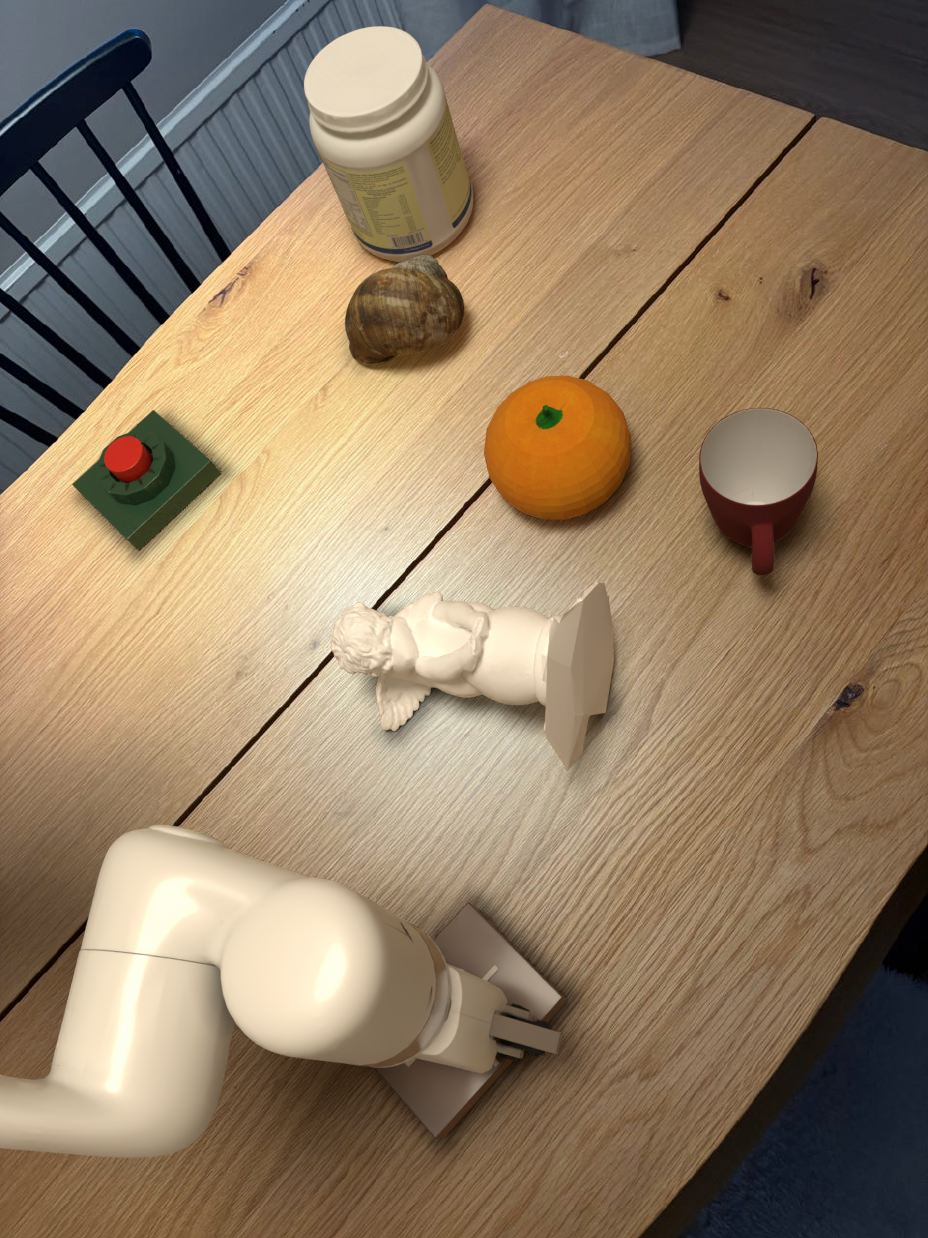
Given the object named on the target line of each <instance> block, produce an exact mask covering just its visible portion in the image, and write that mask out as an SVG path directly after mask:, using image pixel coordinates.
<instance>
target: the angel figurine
mask: <svg viewBox="0 0 928 1238" xmlns="http://www.w3.org/2000/svg"><path fill="white" fill-rule="evenodd" d="M613 624H614V623H613V617H612V611H611V605H610V596H609V595H608V591H607V588H606V583H604V582H598V581H595V582H594V584H592V585H590V586H589V587H588V588H587V589H585V590H584V592H583V595H582V596H580V597H577V598H576V601H575V602H574V603H572V605H571V606H570V607H568V609H567V611H566V612H564V613H563V615H561V614H554V615H552V616H551V617H549V616H547V615H545V614H543V613H541V612H540V611H537V610H536V609H533V608H529V607H525V606H515V605H514V606H504V607H501V608H497V609H495V608H493V607H492V606H490V605H488V604H485V603H482V602H477V601H464V600H463V601H460V600H457V601H456V600H444V596H443V594H442V592H440V591H434V592H426V593H424V594H422V595H421V596H420V597H418V599H416V601H415V603H408V604H407V605H406V606H405V607H403V608H402V609H400V610H399V611H398V612H397V613H396V614H395V615H389V616H388V615H387V614H386V613H384V612H381V611H377V610H376V609H373V608H371V607H368V606H367V605H365V603H364V602H359V601H358V602H356V603H354V604H352V605H350V606H347V607H344V609H343V611H342V613H341V615H340V616H337V618H336V621H335V623H334V624H333V626H332V630H331V632H330V635H329V638H330V650H331V652H332V653H333V656H334V658H335V659H336V660H337V662H338V666H339V668H340V669H341V670H344V672H347V674H351V675H354V674H363V675H369V676H370V677H375V678H377V677H378V678H377V683H376V686H375V697H376V699H375V700H376V704H377V707H378V712H379V714H378V716H381V717H380V728H381V729H382V731H389V730H391V731H392V732H396V731H397V730H399V728H400V726H401V727H402V726H405V724H406V723H407V720H409V719H412V717H413V716H414V715H413V713H414V712H416V711H418V710H419V708H420V702H421V703H423V702H424V701H425V698H426V697H428V696H430V695H431V691H432V690H431V689H432V688H435V689H438V690H440V691H441V692H443V693H445V694H448V695H451V696H454V697H459V698H475V697H480V696H484V697H487V698H488V699H490V700H492V701H494V702H497V703H499V704H502V705H510V706H524V705H525V706H526V705H531V704H534V703H538V702H539V703H540V705H541V706H542V707H545V716H544V727H543V732H544V734H545V738H546V740H547V741H548V743H549V744H550V746H551V748H552V750H553V751H554V752H555V754H556V755H557V757H558V759H559V760H560V761H561V763H562V765H563V770H566V772H568V771H570V769H571V768H572V767H573V765H574V764H575V763H576V762H577V761H578V759H580V757H581V756H582V754H583V749H584V744H585V739H586V735H587V734H586V733H587V728H588V723H589V719H590V717H591V716H593V715H600V714H606V713H607V707H608V701H609V694H610V688H611V683H612V674H613V668H614V663H615V650H614V648H615V647H614V625H613Z"/></svg>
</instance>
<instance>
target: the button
mask: <svg viewBox="0 0 928 1238" xmlns="http://www.w3.org/2000/svg"><path fill="white" fill-rule="evenodd" d="M151 461H152V459H151V454H150V452H149V451H148V450H147V449H146V448H145V447H144V445H143V444H142V443H141V442H140V441H139V440H138V439H137V438H134V437H130V436H127V437H122V438H119V439H117V440H116V441H114V442H113V443H112V444H111V445H110V446H109V447H108V449H107V450H106V452H105V456H104V462H105V465H106V467H107V468H108V469H109V470H110V471H111V472H112V473H113V474H114V475H115V476H116V477H117V478H118V479H119V480H121V481H124V482H132V481H135V480H138V479H140V478H141V477H142V476H143V475H144V474H145V473H146V472H147V471H148V470H149V468H150V466H151Z"/></svg>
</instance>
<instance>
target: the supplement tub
mask: <svg viewBox="0 0 928 1238" xmlns="http://www.w3.org/2000/svg"><path fill="white" fill-rule="evenodd" d="M303 90H304V91H303V92H304V96H305V98H306V100H307V106H308V109H309V131H310V136H311V139H312V142H313V145H314V147H315V148H316V150H317V153H318V155H319V157H320V160H321V162H322V164H323V167H324V169H325V171H326V174H327V176H328V178H329V180H330V182H331V184H332V188H333V189H334V192H335V195H336V196H337V198H338V201H339V203H340V205H341V207H342V210H343V212H344V214H345V216H346V219H347V222H348V223H349V226H350V229H351V231H352V234H353V236H354V237H355V239H356V240H357V242H359V244H360V245H361V246H362V247H363V248H364V249H365V250H366V251H368V252H369V253H370V254H372V255H374V256H375V257H377V258H381V259H383V260H387V261H391V262H396V263H397V262H398V263H400V262H403V261H407V260H412V259H413V258H415V257H417V256H422V255H428V256H431V257H432V256H433V255H435V254H437V253H438V252H441V251H442V250H444V249H445V248H446V247H448V246H449V245H450V244H451V243H453V242H454V241H455V240H456V239H457V238H458V237H459V236H460V235H461V233H462V232H463V231H464V229H465V228H466V226H467V224H468V222H469V219H470V218H471V215H472V211H473V207H474V191H473V190H474V189H473V184H472V182H471V180H470V176H469V172H468V169H467V166H466V163H465V159H464V156H463V152H462V150H461V146H460V142H459V138H458V135H457V131H456V129H455V124H454V121H453V118H452V114H451V110H450V106H449V104H448V99H447V95H446V90H445V87H444V85H443V83H442V80H441V79H440V77H439V75H438V74H437V72H436V71H435V70H434V68H432V66H431V65H429V63H427V60H426V58H425V56H424V54H423V52H422V49H421V47H420V44H419V43H418V41H417V39H415V38H414V37H413V36H412V35H411V34H410V33H408V32H407V31H404V30H403V29H400V28H396V27H393V26H384V25H383V26H382V25H381V26H379V25H377V26H367V27H363V28H362V27H361V28H358V29H356V30H352V31H350V32H347V33H345V34H343V35H341V36H339V37H337V38H335V39H334V40H332V41H331V42H329V43H328V44H327V45H326V46H324V47H323V48H322V49H321V50H320V51H319V52H318V53H317V54H316V55H315V56H314V58H313V60H312V61H311V62H310V63H309V66H308V68H307V70H306V72H305V75H304V81H303Z"/></svg>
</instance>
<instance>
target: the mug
mask: <svg viewBox="0 0 928 1238" xmlns="http://www.w3.org/2000/svg"><path fill="white" fill-rule="evenodd" d="M817 445H818V444H817V442H816V440H815V437H814V435H813V434H812V432H811V430H810V429H809V427H808V426H807V425H805V423H804V422H802V421H801V420H800V419H798V418H797V417H796V416H794V415H792V414H790V413H788V412H785V411H783V410H780V409H775V408H770V407H751V408H750V407H749V408H745V409H740V410H738V411H735V412H732V413H731V414H728V415H726V416H724V417H723V418H721V419H720V420H719V421H718V422H716V423H715V424H714V425H712V427H711V428H710V429H709V431H707V433H706V435H705V437H704V438H703V441H702V442H701V446H700V449H699V454H698V475H699V476H698V477H699V484H700V489H701V492H702V495H703V498H704V500H705V503H706V505H707V507H708V510H709V512H710V515H711V516H712V520H713V521H714V523H715V526H717V528H718V529H719V530H720V532H721V533H722V534H723V535H724V536H726V537H727V538H728V539H729V540H731V541H733V542H735V543H737V544H739V545H741V546H746V547H749V548H751V571H752V573H753V574H754V575H756V576H763V577H764V576H769V575H771V574H772V573H773V572H774V569H775V543H776V542H778V541H779V540H781V539H783V538H785V536H787V535H788V534H789V532H791V530H793V529H794V527H795V526H796V524H797V522H798V521H799V519H800V517H801V515H802V513H803V511H804V509H805V508H806V505H807V504H808V502H809V500H810V497H811V495H812V493H813V491H814V488H815V485H816V480H817V474H818V463H819V450H818V446H817Z"/></svg>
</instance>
